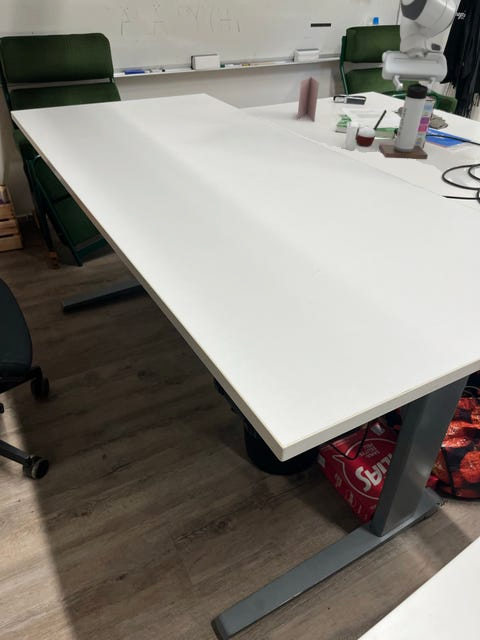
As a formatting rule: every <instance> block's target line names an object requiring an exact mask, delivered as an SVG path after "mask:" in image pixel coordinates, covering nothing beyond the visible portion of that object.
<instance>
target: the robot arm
mask: <svg viewBox="0 0 480 640" xmlns="http://www.w3.org/2000/svg"><path fill="white" fill-rule="evenodd" d="M400 12H401V17H400V23H399V35H400V36H399V37H400V43H399V50H393V51H392V50H387V51H384V52H383V53H382V56H381V61H382V63H383V65H382V71H381V77H382V79H383V80H390V81H392V83H393V84H394V87H396V89H395V90H396V92H402V90H403V89H404V88H403V86H404V85H403V84H404V83H401V82H400V81H408V82H409V81H412V82H415V81H416V82H428V84H427V85H426V87H428V91H427V94H428V93H429V94H430V93H431V92H432V90H433V85H434V83H441V82H443V80H444V79H445V78H446V76H447V73H448V65H447V59H446V56H445V55H444V51H445V47H444V46H443V45H441V44H437V43H436V42H433V41H431V40H429V39H430V38H433V37H435V36H438V35H440V34H441V33H443V32H444V31H446V30H447V29H448V28H449V27H450V26H451V25H452V24H453V22H454V20H455V16H456V14H457V3H456V1H454V0H401V1H400Z"/></svg>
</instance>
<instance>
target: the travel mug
mask: <svg viewBox="0 0 480 640" xmlns="http://www.w3.org/2000/svg"><path fill="white" fill-rule="evenodd" d="M427 91H428V87H427V85H424V84H422V83H418V82H415V84H409V85H408V86H407V90H406V95H405V98H404V103H403V107H402V111H401V114H400V115H401V116H400V121H399V124H398V129H397V134H396V138H395V143H394V145H395V146H394V149H395V150H397V151H400V152H411V151H413V148H414V144H415V140H416V136H417V132H418V128H419V124H420V120H421V116H422V112H423V108H424V104H425V100H426V96H428V93H427Z"/></svg>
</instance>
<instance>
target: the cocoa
mask: <svg viewBox="0 0 480 640" xmlns="http://www.w3.org/2000/svg"><path fill="white" fill-rule="evenodd" d="M387 112H388V111H387V110H386V109H384V110H383V112H382V114H381V115H380V116H379V119H378V120H377V122H376V124H375V125H374V127H370V126H362V127H360V130H359V134H358V137H357V141H356V144H357V145H358V146H360V147H370V146H372V144H373V143H374V141H375V137H376V134H377V131H376V130H377V129H378V127H379V125H380V124H381V122H382V120H383V119H384V117H385V115H386V114H387Z"/></svg>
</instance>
